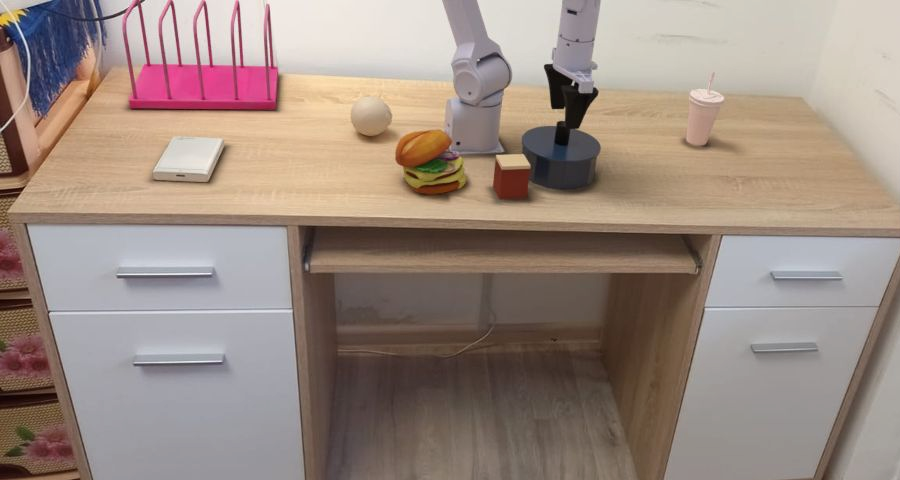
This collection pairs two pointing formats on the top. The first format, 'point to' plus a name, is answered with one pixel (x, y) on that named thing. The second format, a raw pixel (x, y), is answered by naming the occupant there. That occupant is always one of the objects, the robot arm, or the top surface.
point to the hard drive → (189, 159)
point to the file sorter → (202, 73)
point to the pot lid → (561, 144)
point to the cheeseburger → (430, 162)
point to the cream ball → (370, 116)
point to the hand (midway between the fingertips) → (564, 118)
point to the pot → (560, 173)
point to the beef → (511, 176)
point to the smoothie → (702, 113)
